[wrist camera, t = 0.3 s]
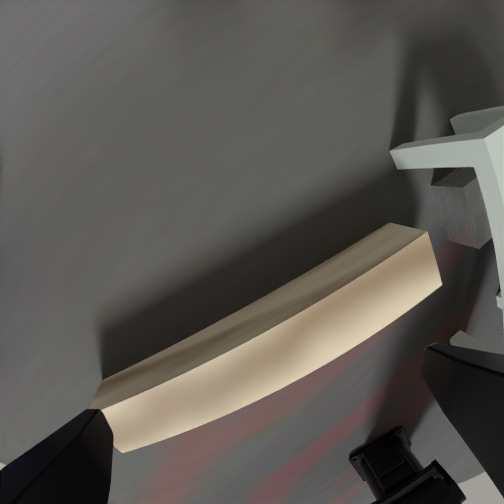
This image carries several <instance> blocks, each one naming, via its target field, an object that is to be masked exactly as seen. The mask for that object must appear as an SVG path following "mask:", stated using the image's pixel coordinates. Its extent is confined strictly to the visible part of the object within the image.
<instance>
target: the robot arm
mask: <svg viewBox="0 0 504 504" xmlns="http://www.w3.org/2000/svg"><path fill="white" fill-rule="evenodd" d="M421 373H422V377H423V379H424V381H425V382H426V384H427V386H428V387H429V389H430V391H431V392H432V394H433V396H434V397H435V399H436V401H437V402H438V404H439V406H440V408H441V409H442V411H443V412H444V414H445V415H446V417H447V418H448V420H449V421H450V422H451V424H452V425H453V426H454V428H455V429H456V430H457V432H458V433H459V434H460V436H461V437H462V439H463V440H464V441H465V443H466V444H467V445H468V447H469V448H470V450H471V451H472V452H473V454H474V455H475V457H476V458H477V460H478V461H479V462H480V464H481V465H482V467H483V468H484V470H485V471H486V472H487V474H488V475H489V477H490V478H491V480H492V481H493V483H494V484H495V486H496V487H497V489H498V490H499V492H500V493H501V495H502V496H503V498H504V354H498V353H492V352H486V351H481V350H475V349H470V348H464V347H459V346H454V345H449V344H444V343H438V342H437V343H434V344H431V345H428V346H427V347H425V349H424V353H423V361H422V368H421ZM113 442H114V435H113V431H112V429H111V427H110V425H109V423H108V421H107V419H106V417H105V415H104V413H103V412H102V411H101V410H100V409H86V410H84V411H83V412H82V413H80V414H79V415H78V416H76V417H75V418H73V419H72V420H71V421H69V422H68V423H66V424H65V425H64V426H62V427H61V428H59V429H58V430H57V431H55V432H54V433H52V434H51V435H50V436H48V437H47V438H45V439H44V440H43V441H41V442H40V443H38V444H37V445H35V446H34V447H33V448H31V449H30V450H28V451H27V452H25V453H24V454H23V455H21V456H20V457H18V458H17V459H15V460H14V461H12V462H11V463H9V464H8V465H7V466H5V467H4V468H2V470H0V504H108V498H109V491H110V484H111V472H112V455H113ZM349 461H350V462H351V464H352V465H353V467H354V468H355V470H356V471H357V472H358V474H359V475H360V477H361V478H362V480H363V481H366V482H367V483H368V485H369V487H370V489H371V491H372V493H373V494H374V496H375V498H376V500H377V501H375V502H373V503H371V504H461V503H463V502H464V501H465V500H466V497H465V495H464V494H463V492H462V491H461V489H460V488H459V486H458V485H457V484H456V482H455V481H454V480H453V479H452V478H451V477H450V475H449V474H448V473H447V472H446V471H445V470H444V469H443V467H442V466H441V465H440V464H439V463H438V462H437V461H436V459H435V460H434V461H432V462H431V464H430V465H428V466H427V467H426V468H423V466H422V465H421V464H420V462H419V461H418V460H417V458H416V457H415V456H414V454H413V453H412V452H411V449H410V446H409V443H408V440H407V437H406V434H405V431H404V429H403V428H402V427H401V426H400V427H398V428H396V429H394V430H393V431H391V432H390V433H388V434H387V435H385V436H384V437H382V438H380V439H379V440H377V441H376V442H374V443H372V444H371V445H369V446H367V447H366V448H364V449H362V450H360V451H359V452H357V453H355V454H353V455H352V456H350V457H349Z"/></svg>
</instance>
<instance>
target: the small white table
mask: <svg viewBox="0 0 504 504" xmlns="http://www.w3.org/2000/svg"><path fill="white" fill-rule="evenodd" d="M449 120H450V122H451V125H452V127H453V130H454V132H455V135H452V136H446V137H439V138H433V139H426V140H420V141H415V142H409V143H403V144H401V145H399V146H398V147H396V148H394V149H392V150H390V154H391V156H392V158H393V160H394V163H395V165H396V167H397V169H417V168H444V167H474V169H475V172H476V175H477V178H478V182H479V185H480V189H481V192H482V196H483V199H484V203H485V207H486V211H487V215H488V219H489V224H490V228H491V233H492V238H493V243H494V248H495V254H496V260H497V266H498V273H499V280H500V289H501V291H500V292H499V293H498V294H497V295H496V298H497V307H499V308H501V309H503V325H504V106H499V107H493V108H488V109H483V110H478V111H473V112H468V113H463V114H458V115H456V116H455V117H453V118H451V119H449ZM450 343H451V345H454V346H459V347H464V348H470V349H475V350H481V351H486V352H492V353H496V352H494V351H493V350H491V349H490V348H488V347H486V346H485V345H483V344H482V343H480V342H479V341H477V340H475V339H474V338H472V337H471V336H469V335H468V334H466V333H464V332H463V331H461V330H459V331H458V332H457V333H456V334H455V335H454V336H452V337H451V338H450Z"/></svg>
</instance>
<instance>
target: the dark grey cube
mask: <svg viewBox="0 0 504 504" xmlns="http://www.w3.org/2000/svg"><path fill="white" fill-rule="evenodd" d="M431 189H432V191H433V194H434V197H435V200H436V203H437V206H438V209H439V212H440V215H441V218H442V221H443V224H444V227H445V231H446V234H447V237H448V240H449V241H452V242H456V243H460V244H463V245H467V246H470V247H474V248H477V249H480V248H481V247H482V246H483V245H484V244H485V243H486V242H488V241H489V240H490V239H491V238H492V233H491V228H490V224H489V219H488V215H487V211H486V207H485V203H484V199H483V196H482V192H481V189H480V185H479V182H478V178H477V175H476V172H475V169H474V167H458V168H457V169H455V170H454V171H452V172H451V173H449V174H448V175H446V176H445V177H443V178H442V179H440V180H439V181H437V182H436V183H434V184H433V185H431Z"/></svg>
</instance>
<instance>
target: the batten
mask: <svg viewBox="0 0 504 504" xmlns="http://www.w3.org/2000/svg"><path fill="white" fill-rule="evenodd" d="M441 285H442V282H441V278H440V274H439V270H438V266H437V262H436V259H435V255H434V252H433V248H432V245H431V242H430V238H429V235H428V232H427V231H423V230H419V229H415V228H411V227H407V226H402V225H398V224H394V223H387V224H386V225H384V226H382V227H381V228H379V229H377V230H376V231H374V232H373V233H371V234H369V235H368V236H366V237H365V238H363V239H361V240H360V241H358V242H356V243H355V244H353V245H351V246H350V247H348V248H346V249H345V250H343V251H341V252H340V253H338V254H336V255H335V256H333V257H331V258H330V259H328V260H326V261H325V262H323V263H321V264H320V265H318V266H316V267H314V268H313V269H311V270H309V271H308V272H306V273H304V274H302V275H301V276H299V277H297V278H295V279H294V280H292V281H290V282H288V283H287V284H285V285H283V286H281V287H280V288H278V289H276V290H274V291H273V292H271V293H269V294H267V295H266V296H264V297H262V298H260V299H258V300H257V301H255V302H253V303H251V304H249V305H248V306H246V307H244V308H242V309H240V310H238V311H237V312H235V313H233V314H231V315H229V316H227V317H226V318H224V319H222V320H220V321H218V322H216V323H214V324H212V325H211V326H209V327H207V328H205V329H203V330H201V331H199V332H197V333H196V334H194V335H192V336H190V337H188V338H186V339H184V340H182V341H180V342H178V343H176V344H174V345H172V346H170V347H168V348H167V349H165V350H163V351H161V352H159V353H157V354H155V355H153V356H151V357H149V358H147V359H145V360H143V361H141V362H139V363H137V364H135V365H133V366H131V367H129V368H127V369H124V370H122V371H120V372H118V373H116V374H114V375H112V376H110V377H108V378H106V379H104V380H102V382H101V384H100V386H99V388H98V390H97V392H96V394H95V396H94V398H93V400H92V402H91V404H90V407H89V409H100V410H101V411H102V412H103V413H104V415H105V417H106V419H107V421H108V423H109V425H110V427H111V429H112V431H113V435H114V442H113V445H114V446H115V447H116V448H117V449H118V450H119V451H120V452H121V453H125V452H128V451H131V450H134V449H137V448H140V447H144V446H147V445H150V444H152V443H155V442H158V441H161V440H164V439H167V438H169V437H172V436H175V435H178V434H180V433H183V432H185V431H188V430H191V429H193V428H196V427H198V426H201V425H203V424H205V423H208V422H210V421H213V420H215V419H217V418H220V417H222V416H224V415H227V414H229V413H231V412H233V411H235V410H238V409H240V408H242V407H244V406H246V405H248V404H251V403H253V402H255V401H257V400H259V399H261V398H263V397H265V396H267V395H269V394H271V393H273V392H275V391H277V390H279V389H281V388H283V387H285V386H287V385H289V384H290V383H292V382H294V381H296V380H298V379H300V378H302V377H303V376H305V375H307V374H309V373H311V372H313V371H314V370H316V369H318V368H320V367H321V366H323V365H325V364H327V363H328V362H330V361H332V360H333V359H335V358H337V357H338V356H340V355H342V354H343V353H345V352H347V351H348V350H350V349H351V348H353V347H355V346H356V345H358V344H359V343H361V342H363V341H364V340H366V339H367V338H369V337H370V336H372V335H373V334H375V333H376V332H378V331H379V330H381V329H382V328H384V327H385V326H387V325H388V324H390V323H391V322H393V321H394V320H396V319H397V318H398V317H400V316H401V315H403V314H404V313H405V312H407V311H408V310H410V309H411V308H412V307H414V306H415V305H416V304H418V303H419V302H421V301H422V300H423V299H425V298H426V297H427V296H429V295H430V294H431V293H432V292H434V291H435V290H436V289H438V288H439V287H440V286H441Z"/></svg>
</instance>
